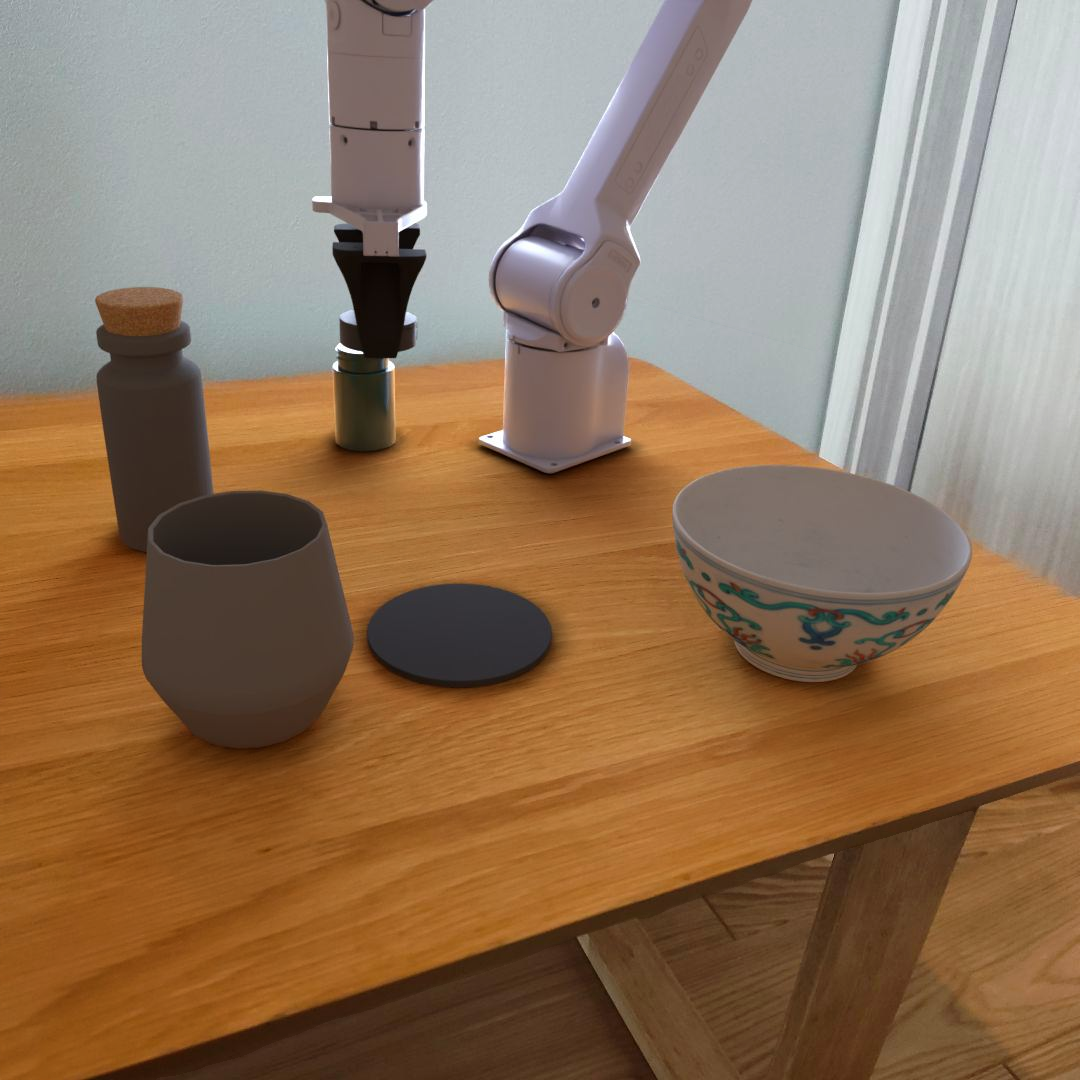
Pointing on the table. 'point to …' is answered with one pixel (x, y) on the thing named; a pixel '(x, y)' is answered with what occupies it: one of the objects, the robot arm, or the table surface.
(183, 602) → the cup
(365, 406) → the spice jar
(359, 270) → the robot arm
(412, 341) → the cap
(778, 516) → the chinaware
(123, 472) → the bottle
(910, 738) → the table surface
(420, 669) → the coaster
